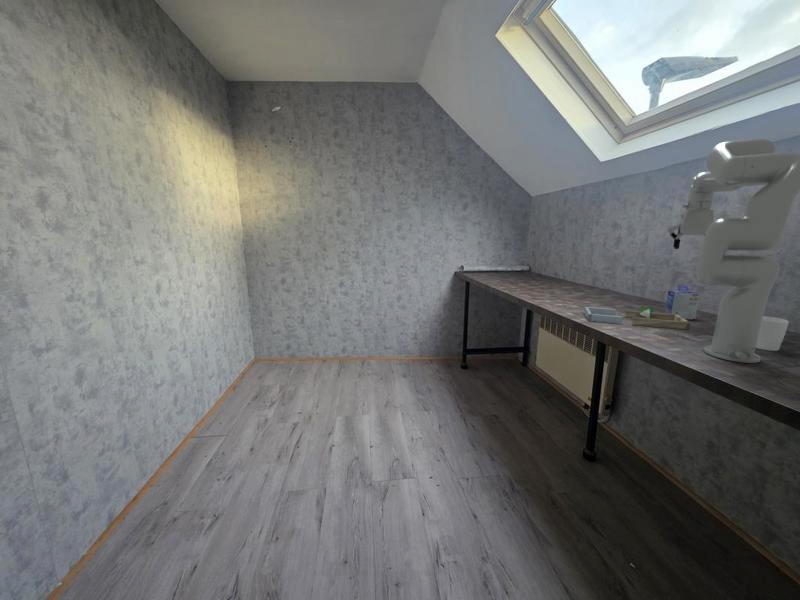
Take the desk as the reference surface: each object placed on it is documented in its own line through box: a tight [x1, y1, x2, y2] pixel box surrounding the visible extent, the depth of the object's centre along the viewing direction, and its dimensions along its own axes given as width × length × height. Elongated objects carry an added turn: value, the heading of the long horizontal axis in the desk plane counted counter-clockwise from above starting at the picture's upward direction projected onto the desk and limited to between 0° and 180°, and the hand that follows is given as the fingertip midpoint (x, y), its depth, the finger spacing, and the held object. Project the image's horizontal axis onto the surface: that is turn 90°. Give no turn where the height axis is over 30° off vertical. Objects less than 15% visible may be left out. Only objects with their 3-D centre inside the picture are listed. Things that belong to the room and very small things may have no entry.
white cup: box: [755, 315, 790, 352], centre depth 108 cm, size 8×8×10 cm
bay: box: [583, 306, 623, 325], centre depth 146 cm, size 15×12×3 cm
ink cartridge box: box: [664, 285, 701, 320], centre depth 145 cm, size 10×6×14 cm, turn 78°
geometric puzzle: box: [636, 306, 657, 319], centre depth 139 cm, size 7×7×8 cm
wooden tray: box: [624, 309, 691, 331], centre depth 138 cm, size 14×19×3 cm
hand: (690, 249), depth 136 cm, fingers open, 9 cm apart
